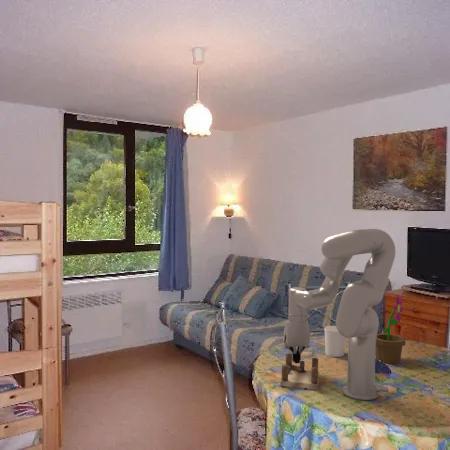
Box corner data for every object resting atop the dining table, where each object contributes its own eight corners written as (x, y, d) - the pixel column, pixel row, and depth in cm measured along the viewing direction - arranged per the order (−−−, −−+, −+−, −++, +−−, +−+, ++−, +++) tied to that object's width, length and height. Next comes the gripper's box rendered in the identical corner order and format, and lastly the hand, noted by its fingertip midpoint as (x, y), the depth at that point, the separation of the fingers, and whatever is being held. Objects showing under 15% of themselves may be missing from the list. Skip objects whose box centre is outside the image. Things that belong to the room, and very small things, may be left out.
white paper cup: (321, 355, 215) (321, 329, 215) (327, 349, 224) (327, 324, 223) (342, 359, 211) (343, 332, 210) (347, 353, 219) (348, 327, 219)
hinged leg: (305, 370, 188) (305, 357, 188) (302, 372, 187) (303, 358, 186) (287, 366, 193) (287, 353, 193) (284, 367, 191) (284, 354, 191)
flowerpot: (399, 368, 200) (401, 297, 198) (366, 361, 208) (368, 293, 207) (409, 359, 211) (411, 293, 210) (377, 353, 220) (379, 289, 219)
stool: (318, 376, 188) (319, 357, 188) (318, 389, 175) (318, 369, 174) (283, 373, 191) (283, 355, 191) (280, 386, 177) (280, 366, 177)
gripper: (310, 315, 198) (309, 358, 199) (277, 316, 195) (275, 360, 195) (318, 319, 191) (317, 364, 192) (283, 321, 187) (282, 366, 188)
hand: (296, 362), depth 194 cm, fingers closed
